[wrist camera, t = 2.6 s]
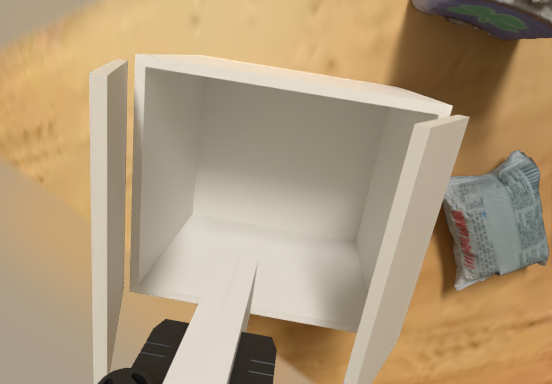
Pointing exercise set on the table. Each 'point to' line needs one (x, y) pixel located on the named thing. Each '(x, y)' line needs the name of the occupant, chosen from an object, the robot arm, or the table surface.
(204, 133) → the carton
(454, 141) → the flap right
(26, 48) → the table surface
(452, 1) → the purple green package
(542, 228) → the packaged food
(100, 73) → the flap left
